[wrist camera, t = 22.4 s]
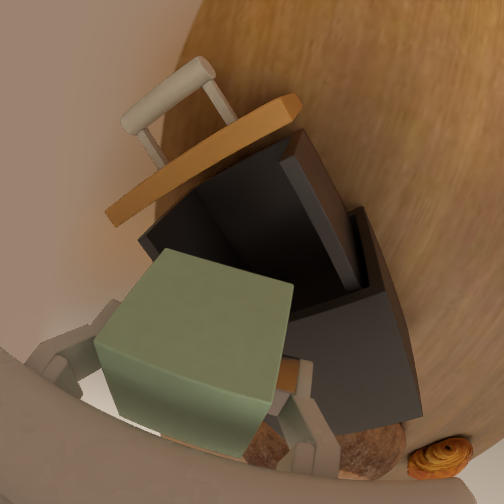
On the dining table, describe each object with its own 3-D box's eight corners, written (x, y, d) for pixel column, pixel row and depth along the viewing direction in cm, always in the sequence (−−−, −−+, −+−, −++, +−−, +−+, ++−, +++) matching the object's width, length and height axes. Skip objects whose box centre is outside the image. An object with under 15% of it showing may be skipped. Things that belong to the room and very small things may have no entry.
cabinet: (230, 260, 28) (189, 347, 19) (363, 206, 23) (385, 291, 14) (299, 359, 33) (287, 441, 24) (407, 328, 28) (422, 416, 19)
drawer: (140, 124, 22) (65, 153, 14) (262, 41, 17) (225, 16, 10) (253, 292, 28) (228, 367, 21) (372, 249, 23) (388, 327, 16)
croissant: (475, 419, 39) (484, 451, 32) (461, 455, 44) (465, 482, 37) (407, 438, 43) (411, 472, 36) (403, 470, 48) (404, 498, 41)
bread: (326, 467, 51) (321, 506, 43) (217, 426, 48) (202, 473, 39) (431, 425, 37) (436, 476, 29) (317, 370, 34) (309, 444, 25)
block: (164, 332, 14) (119, 415, 10) (165, 246, 11) (91, 340, 7) (264, 363, 14) (240, 459, 10) (294, 283, 11) (272, 404, 7)
